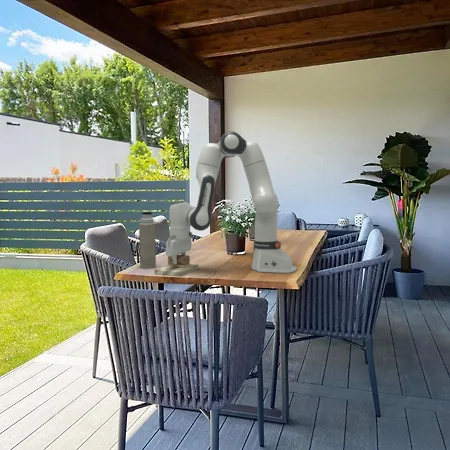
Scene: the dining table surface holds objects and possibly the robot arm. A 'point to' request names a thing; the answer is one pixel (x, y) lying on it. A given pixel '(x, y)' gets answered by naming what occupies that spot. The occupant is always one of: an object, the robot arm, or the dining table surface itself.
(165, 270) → the board
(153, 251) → the thermos bottle
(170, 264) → the block
